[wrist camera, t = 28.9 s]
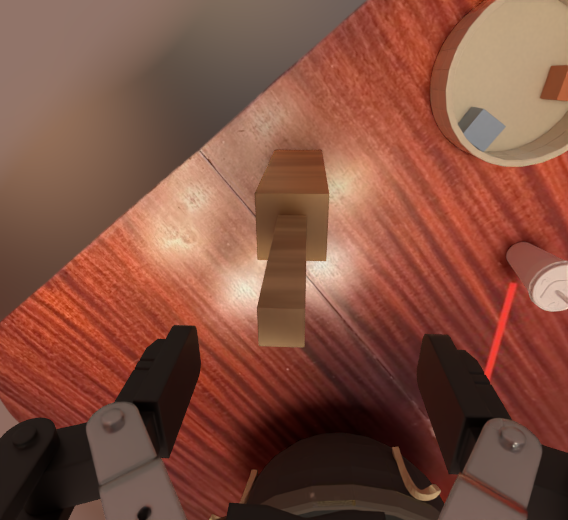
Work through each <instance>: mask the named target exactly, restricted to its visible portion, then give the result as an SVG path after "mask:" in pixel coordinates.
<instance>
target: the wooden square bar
mask: <svg viewBox="0 0 568 520" xmlns="http://www.w3.org/2000/svg"><path fill="white" fill-rule="evenodd" d="M306 234H307V216H306V215H278V217H277V221H276V226H275V230H274V235H273V239H272V243H271V248H270V252H269V257H268V261H267V266H266V270H265V275H264V279H263V284H262V288H261V293H260V297H259V301H258V306H257V318H258V341H259V346H277V347H304V345H305V294H306Z"/></svg>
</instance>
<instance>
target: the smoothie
mask: <svg viewBox="0 0 568 520" xmlns="http://www.w3.org/2000/svg"><path fill="white" fill-rule="evenodd" d="M506 259H507V261H508V263H509V264H510V266H511V267H512V268H513V270H514V271H515V273H516V274H517V276H518V277H519V278H520V280H521V281H522V283H523V284H524V286H525V287H526V289H527V290H528V292H529V297H530V298H531V300H532V301H533V302H534V303H535V304H536V305H537V306H538V307H540V308H541V309H544V310H547V311H562V310H566V309H568V261H565V260H563V259H560V258H558V257H556V256H554V255H552V254H550V253H548V252H546V251H544V250H542V249H540V248H538V247H536V246H534V245H532V244H530V243H528V242H519V243H516V244H514V245H513V246H511V247H510V248H509V250H508V251H507V254H506Z"/></svg>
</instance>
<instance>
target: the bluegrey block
mask: <svg viewBox="0 0 568 520" xmlns="http://www.w3.org/2000/svg"><path fill="white" fill-rule="evenodd" d="M458 125H459V127H460V129H461V130H462V132H463V134H464V136H465V137H466V139H467V140H468V141H469V142H471V143H472V144H473V145H474V146H475V147H476V148H477V149H478V150H480V151H482V152H484V151H485V150H486V149H487V148H488V147H489V145H490V144H491V143H492V142H493V141H494V140H495V139H496V137H497V136H498V135H499V134H500V133H501V132H502V131H503V129H504V128H505V127H506V126H505V125H504V124H503V123H501V122H500V121H499V120H497V119H496V118H495V117H494V116H492V115H491V114H490V113H489V112H487V111H486V110H485V109H482V108H477V107H471V108H470V109H469V111H468V112H467V113H466V114H465V115H464V117H463V118H462V119H461V120H460V122H459V123H458Z"/></svg>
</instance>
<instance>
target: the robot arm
mask: <svg viewBox="0 0 568 520" xmlns="http://www.w3.org/2000/svg"><path fill="white" fill-rule="evenodd" d="M200 366H201V360H200V352H199V344H198V336H197V329H196V327H195V326H185V325H174V326H173V327H172V328H171V330H170V332H169V334H168V336H167V338H166V339H157V340H156V341H155V342H153V343H152V344H151V345H150V346H149V347H147V348H146V350H145V352H144V353H143V355H142V357H141V358H140V361H139V362H138V363H137V365H136V367H135V370H133V372H132V373H131V375H130V377H129V378H128V380H127V382H126V383H125V385H124V387H123V389H122V390H121V392H120V394H119V395H118V397H117V399H116V400H115V402H114V403H111V404H108V405H106V406H104V407H102V408H100V409H99V410H98V411H96V412H95V413H94V414H93V415H92V416H91V418H90V419H89V421H88V422H86V423H83V424H79V425H74V426H69V427H65V428H60V429H56V427H55V425H54V423H53V422H52V421H51V420H49V419H47V418H33V419H29V420H26V421H24V422H21V423H19V424H17V425H15V426H14V427H12V428H11V429H9V430H8V431H7V432H6V433H5V434H4V435H3V436H2V437H1V438H0V520H68V519H69V517H70V515H71V513H72V511H73V509H74V507H75V505H79V504H82V503H87V502H90V501H94V500H98V499H101V502H102V506H103V510H104V514H105V519H106V520H187V518H186V516H185V513H184V511H183V508H182V506H181V504H180V501H179V499H178V497H177V494H176V492H175V489H174V487H173V485H172V482H171V480H170V478H169V475H168V473H167V470H166V468H165V466H164V463H163V461H162V459H161V458H169V457H170V454H171V451H172V449H173V446H174V443H175V440H176V438H177V435H178V432H179V430H180V427H181V424H182V421H183V419H184V416H185V413H186V410H187V408H188V405H189V402H190V399H191V397H192V394H193V391H194V389H195V386H196V383H197V380H198V377H199V374H200ZM417 382H418V387H419V390H420V393H421V396H422V398H423V401H424V404H425V407H426V410H427V413H428V416H429V418H430V421H431V424H432V427H433V430H434V433H435V436H436V438H437V441H438V444H439V447H440V450H441V453H442V456H443V458H444V461H445V464H446V467H447V470H448V473H449V474H459V475H458V477H457V479H456V481H455V483H454V485H453V487H452V489H451V491H450V494H449V496H448V498H447V500H446V502H445V504H444V506H443V508H442V511H441V513H440V515H439V517H438V519H437V520H568V453H567V452H563V451H560V450H557V449H553V448H550V447H547V446H544V445H542V444H541V443H540V442H539V440H538V438H537V437H536V436H535V435H534V434H533V433H532V432H531V431H530V430H529V429H527V428H526V427H524V426H523V425H521V424H519V423H517V422H515V421H512V419H511V417H510V416H509V414H508V412H507V410H506V409H505V407H504V405H503V404H502V402H501V400H500V399H499V397H498V395H497V393H496V392H495V390H494V388H493V387H492V385H490V382H489V380H488V378H487V376H486V375H484V371H483V370H482V368H481V366H480V365H479V363H478V361H477V360H476V359H475V358H473V357H472V356H471V355H470V354H469V353H468V352H466V351H465V350H457V349H456V347H455V345H454V343H453V342H452V340H451V338H450V336H449V335H442V334H425V335H424V337H423V340H422V345H421V351H420V356H419V361H418V366H417ZM215 520H386V518H385V512H379V511H362V510H341V511H337V512H332V513H328V514H323V515H319V516H314V517H309V518H304V517H301V516H298V515H295V514H292V513H289V512H286V511H283V510H280V509H277V508H274V507H271V506H268V505H259V504H242V503H229V507H228V512H227V516H225V517H221V518H218V519H215Z"/></svg>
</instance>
